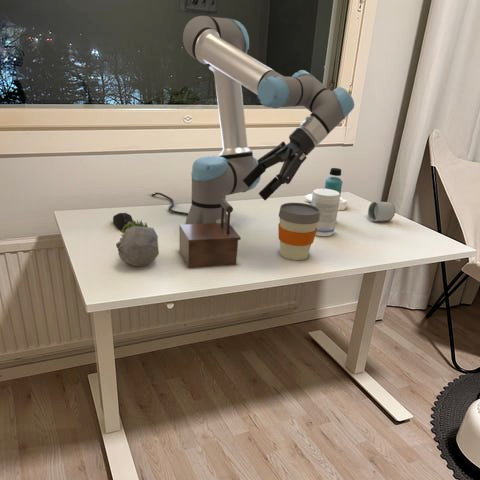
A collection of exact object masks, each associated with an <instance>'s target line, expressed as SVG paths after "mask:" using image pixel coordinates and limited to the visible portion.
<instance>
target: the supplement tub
mask: <svg viewBox="0 0 480 480" xmlns="http://www.w3.org/2000/svg"><path fill="white" fill-rule="evenodd" d="M312 193H313V194H312V201H311V202H310V205H312V206H315V207H317V208H318V209H319V210H320V218H319V221H318V223H317V226H316V227H317V231H316V234H315V236H317V237H330V236H332V235H334V233H335V230H336V223H337V217H338V212H339V210H338V206H339V198H340V196H341V195H340V194H341V193H339V192H338V191H335V190H331V189H325V188H315V189H313V191H312Z"/></svg>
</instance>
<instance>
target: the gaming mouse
mask: <svg viewBox="0 0 480 480" xmlns="http://www.w3.org/2000/svg"><path fill="white" fill-rule="evenodd" d="M132 219H133V217H132V215H131V214H129V213H127V212H118V213H116V214H115V215H113V217H112V222H113V224H114V225H115V227H116V228H117V230H119V231H122V229H123V227H124V226H125V224H128V223H129V221H130V222H131V223H132ZM127 222H128V223H127Z"/></svg>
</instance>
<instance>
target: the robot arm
mask: <svg viewBox="0 0 480 480" xmlns="http://www.w3.org/2000/svg"><path fill="white" fill-rule="evenodd" d="M182 43H183V45H184V49H185V51H186V52H187V54H188V55H189V56H190V57H192V58H193V59H194V60H196V61H197V62H199V63H201V64H203V65H208V69H209V70H210V71H211V72H212V73H213V75H214V83H215V85H214V86H215V92H216V101H217V109H218V117H219V126H220V127H219V128H220V135H221V143H222V151H220V153H219V155H212V156H210V155H208V156H207V155H206V156H202V157H199V158H197V159H195V160H194V162H193V163H192V168H191V202H190V203H191V204H190V208H189V211H188V212H184V211H177V210H174V209H172V208H173V207H174V205H175V201H174V199H173V198H171V197H170V196H168V195H166V194H164V193H162V192H154V193H155V194H153V193H152V194H151V197H154V196H156V195H158V196H161V197H163V198H166V199H167V200H169V201H170V202H171V205H170V206H169V207H168V210H169V212H171V213H174V214H177V215H178V214H179V215H184V216H186V219H185V225H187V224H210V223H221V209H222V206H221V205H220V200H221V199H225V200H226V196H230V195H234V194H239V193H246V192H248V191H252V190H253V189H255V188H256V187H257V186H258V184H259V182H260V180H261V177H262V175H263V174H264V173H266V171H267V170H268V169H269V168H271V167H273V166H275V165H277V164H279V163H282V166H281V168H280V171H279V173H278V174H276V175H275V176H274V177H273V178H272V179H271V180H270V181H269V182H268V183H267V184H266V185H265V186H264V187H263V188H262V189H261V190H260V191H259V192H258V195H259V196H260V197H261V198H262V200H263V201H267V200H268V199H269V198H270V197H271V196H272V194H274V193H275V191H277V190H278V189H279V188H280V187H281V186H282V185H285V184H286V185H290V183H291V182H292V180H293V179H294V177H295V175H296V173H297V172H298V171H299V169H300V167H301V166H302V164H303V163H304V162H305V161H306V160H307V156H308V155H310V153H311V152H312V151H313V150H314V149H315V148H316V146H319V144H321V143H322V142H323V141H324V140H325V139H326V138H327V137H328V135H329V134H330V133H331V132H332V131H333V130H334V129H335V128H336V127H337V126H339V124H340V123H341V122H342V121H344V120H345V119H346V118H347V117H348V115H350V113H351V112H352V111H353V110H354V108H355V100H354V99H353V96H352V95H351V93H350V92H349V91H348V90H347V89H346V88H344V87H342V86H338V87H336V88H334V89H333V90H332V89H329V88H328V87H326V85H324V84H323V83H322V82H321V81H319V80H318V79H317V78H316V77H315V76H314V75H313V74H311V73H310V72H308V71H307V70H304V69H300V70H298V71H297V72H295V73H293V74H292V75H291V76H284V75H282V74H281V73H279V72H277V71H276V70H274V69H272V68H271V67H269V66H268V65H266V64H264V63H263V62H261V61H259V60H257V59H256V58H254V57H252V56H251V55H249V54H248V50H249V48H250V38H249V34H248V30H247V29H246V27H245V25H243V24H242V22H240V21H238V20H236V19H232V18H229V17H216V16H208V15H198V16H195V17H193V18H192V19H190V20H189V21H188V22H187V24H186V25H185V27H184V30H183V33H182ZM242 87H244V88H246V89H247V90H249V91H251V93H254V94H255V95H257V98H258V100H259V102H260V104H261V105H262V106H263V107H265V108H271V109H279V108H291V107H294V108H295V107H304V108H306V109H307V110H308V111H309V113H310V114H309V115H308V116H306V117H305V120H303V121H302V122H301V123H300V124H299V127H296V128H295V129H294V130H293V131H292V132H291V133H290V134H289V135H288V140H289V142H288V143H287V144H286V142H285V141H282V142H280V143H279V144H278V145H277V146H276V147H274V148H273V149H271V150H270V151H268V152H267V153H266V154H264V155H262V156H261V157H259V158H258V159H257V158H256V157H255V156H254V154H253V150H252V149H251V148H250V147H249V146H248V137H247V129H246V127H247V126H246V118H245V108H244V97H243V89H242ZM227 213H228V212H227V211H226V210H225V209H224V223H227Z"/></svg>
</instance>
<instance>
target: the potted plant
mask: <svg viewBox="0 0 480 480" xmlns="http://www.w3.org/2000/svg"><path fill="white" fill-rule="evenodd" d="M127 223H128V222H127ZM147 223H148V222H144V223H143V221H142V220H140V221H139V219H136V220H134V219H133V218H132V223H131V222H130V221H129V223H128V224H125V226H124V227H123V229H122V230H120V233H121V234H120V236H121V237H120V238H119V241H118V242H116V243H115V244H116V248H117V251H118V257H119V260H121V261H122V262H123V263H126V264H127V265H131V266H135V267H142V266H143V267H144V266H147V265H149V264H151V263H153V262H154V260H155V259H156V258H157V257H158V256H159V255H160V251H159V236H158V234H157V232H156V230H155V229H154V227H150V226H149V227H148V224H147Z"/></svg>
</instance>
